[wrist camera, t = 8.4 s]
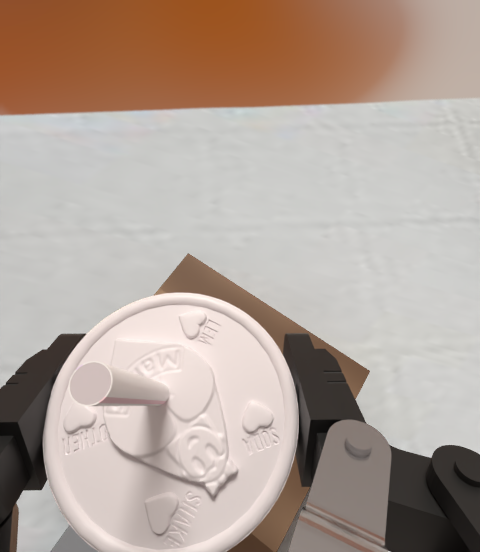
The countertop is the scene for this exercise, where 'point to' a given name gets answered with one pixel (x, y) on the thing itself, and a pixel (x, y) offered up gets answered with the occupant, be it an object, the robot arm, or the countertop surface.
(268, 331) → the frame
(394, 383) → the countertop surface
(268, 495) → the smoothie
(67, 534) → the slate coaster
